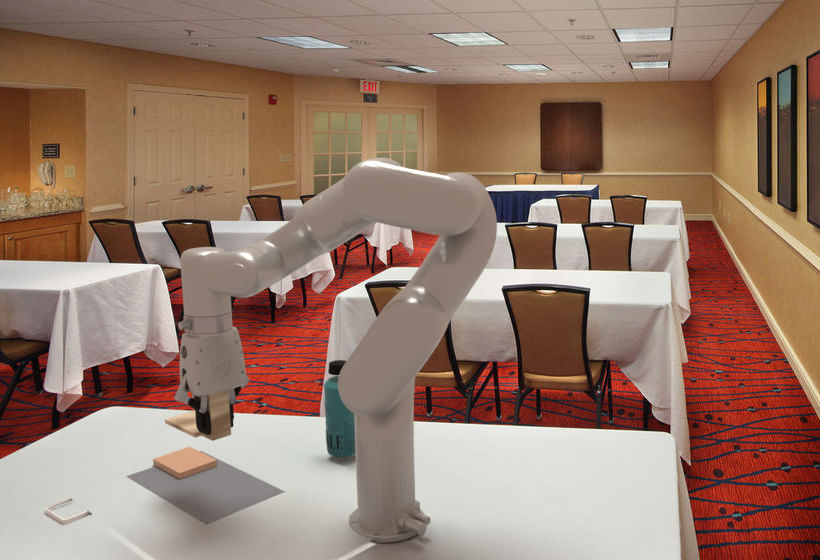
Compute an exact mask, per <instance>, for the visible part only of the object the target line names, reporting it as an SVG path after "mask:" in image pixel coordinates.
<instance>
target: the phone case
mask: <svg viewBox="0 0 820 560" xmlns="http://www.w3.org/2000/svg"><path fill="white" fill-rule="evenodd" d="M71 501H73V499H72V498H68V499H66V500H65V499H64V500H62V501H60V502H57V503H54V504H52V505H49V506H47V507H45V509H44V512H45V514H46V515H47V516H49V517H50V518H52V519H53V520H55V521H57V522H58V523H60V524H62V525H70V524H72V523H74V522H77V521H79V520H81V519H83V518H86V517H89V516H92V515H93V513H92V512H91V511H89V510H85V511H82V512H80V513H77V514H75V515H72V516H69V517H67V518H63V517H61V516H60V515H59V514H56V513H55V512H54V511H55V510H56V507H58V506H61V505H62V506H63V505H65V504H66V503H69V502H71ZM91 514H92V515H91ZM88 515H89V516H88Z"/></svg>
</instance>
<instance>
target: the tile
mask: <svg viewBox="0 0 820 560" xmlns="http://www.w3.org/2000/svg"><path fill="white" fill-rule="evenodd" d="M200 451H201V450H197V449H195V448H194V447H192V446H187V447H184V448H182V449H179V450H175V451H173V452H170V453H166V454H163V455H160V456H158V457H154V458H153V459H152V463H153V466H154V467H155V466H157V467H159V468H160V469H162V470H164V471H166V472H168V473H170V474H171V475H173V476H175V477H177V478H179V479H182V478H185V477H188V476H191V475H193V474H196V473H199V472H202V471H204V470H207V469H210V468H213V467H215V466H217V460H216V459H214V458H212V457H210V456H208V455H206V454H204V453H202V452H200Z"/></svg>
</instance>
